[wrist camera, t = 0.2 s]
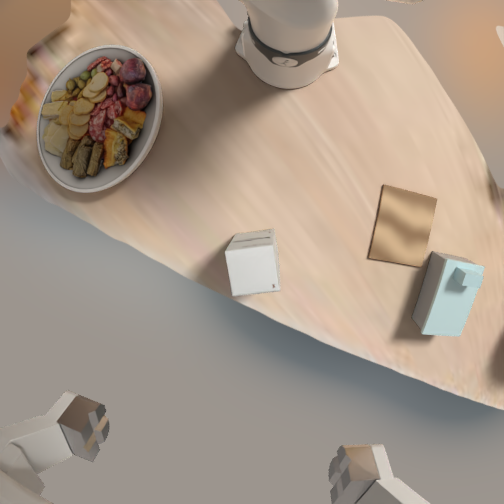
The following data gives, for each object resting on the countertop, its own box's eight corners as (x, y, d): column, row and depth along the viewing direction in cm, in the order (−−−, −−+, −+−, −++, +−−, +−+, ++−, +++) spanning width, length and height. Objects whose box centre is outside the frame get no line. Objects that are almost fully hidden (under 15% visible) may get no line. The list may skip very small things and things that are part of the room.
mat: (383, 184, 51) (384, 184, 50) (435, 198, 51) (437, 198, 50) (368, 257, 55) (369, 257, 54) (420, 266, 54) (421, 267, 54)
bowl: (94, 219, 57) (73, 227, 50) (33, 124, 52) (11, 123, 45) (200, 118, 51) (188, 111, 43) (120, 28, 46) (103, 14, 38)
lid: (445, 257, 48) (456, 264, 43) (482, 265, 47) (494, 272, 43) (420, 332, 52) (429, 343, 48) (458, 334, 52) (467, 344, 47)
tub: (432, 251, 53) (446, 259, 48) (466, 258, 53) (481, 267, 47) (411, 317, 58) (422, 331, 52) (445, 320, 57) (457, 333, 52)
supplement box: (275, 227, 55) (275, 244, 43) (279, 266, 57) (281, 293, 44) (234, 232, 56) (223, 250, 43) (240, 270, 57) (231, 298, 45)
